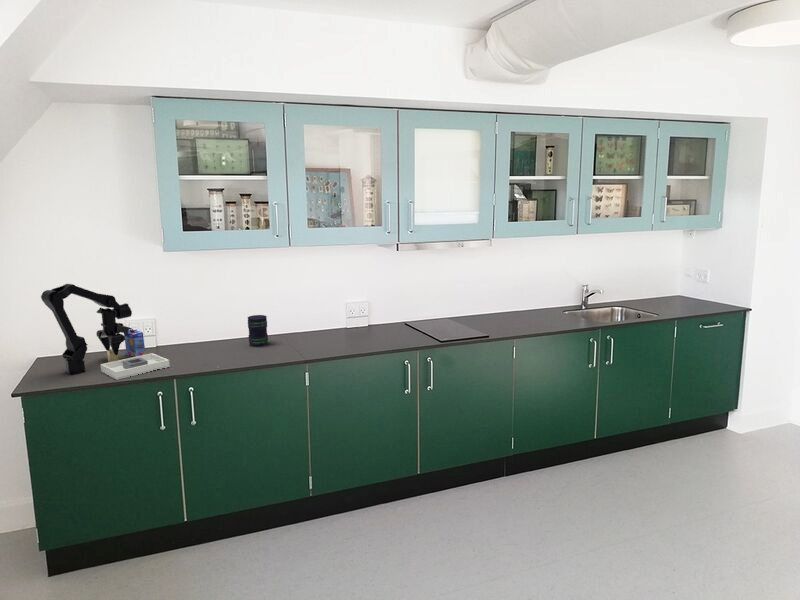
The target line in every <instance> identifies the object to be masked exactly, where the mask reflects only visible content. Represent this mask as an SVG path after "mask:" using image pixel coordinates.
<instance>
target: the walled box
mask: <svg viewBox="0 0 800 600" xmlns="http://www.w3.org/2000/svg"><path fill="white" fill-rule="evenodd" d="M167 367H169V368H171V366H170V359H167V358H166V357H162V356H160V355H159V354H155V353H153V352H152V353H146V355H142V356H137V357H128V358H124V359H123V358H122V359H119V360H118V361H114V362H104V363H101V364H100V372H101V373H102V374H105V375H106V376H108V375H109V377H111V378H112V379H115V380H116V381H118V380H122V379H126V378H130V376H131V377H135V376H139V375H143V374H147V373H146V372H148V373H151V372H150V371H152V372H154V371H153V370H156V371H158V370H157V369H160V370H163V369H162V368H165V369H168V368H167ZM142 373H143V374H142ZM138 374H139V375H138Z"/></svg>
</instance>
